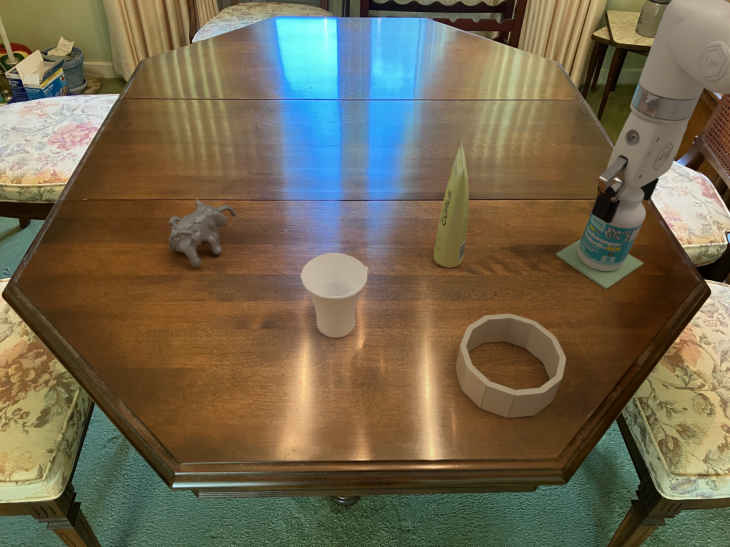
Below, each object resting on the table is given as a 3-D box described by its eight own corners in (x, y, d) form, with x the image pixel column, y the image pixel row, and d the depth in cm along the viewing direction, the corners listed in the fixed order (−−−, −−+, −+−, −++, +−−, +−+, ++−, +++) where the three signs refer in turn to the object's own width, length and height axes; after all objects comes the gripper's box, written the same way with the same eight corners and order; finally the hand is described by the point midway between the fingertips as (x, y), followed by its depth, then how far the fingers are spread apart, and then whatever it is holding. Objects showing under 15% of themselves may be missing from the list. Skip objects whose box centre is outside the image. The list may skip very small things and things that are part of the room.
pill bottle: (568, 258, 91) (592, 190, 81) (588, 238, 95) (614, 170, 85) (611, 280, 87) (641, 211, 78) (630, 258, 91) (662, 190, 82)
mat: (642, 264, 91) (643, 262, 90) (605, 289, 86) (606, 287, 86) (592, 233, 96) (592, 231, 96) (555, 255, 92) (555, 253, 92)
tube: (424, 254, 92) (436, 151, 78) (446, 243, 94) (461, 140, 80) (447, 273, 88) (464, 168, 75) (470, 260, 91) (490, 157, 77)
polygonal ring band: (575, 383, 73) (586, 360, 70) (508, 435, 67) (516, 413, 64) (502, 324, 80) (509, 300, 77) (436, 366, 75) (440, 342, 71)
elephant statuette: (161, 260, 90) (149, 223, 84) (203, 219, 98) (195, 182, 92) (209, 275, 87) (200, 238, 82) (249, 232, 95) (243, 195, 90)
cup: (374, 340, 78) (376, 290, 71) (309, 350, 76) (305, 300, 70) (361, 296, 84) (362, 246, 77) (301, 305, 83) (296, 255, 76)
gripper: (652, 131, 66) (607, 241, 78) (725, 94, 74) (674, 199, 85) (599, 107, 70) (564, 214, 82) (674, 75, 78) (632, 177, 90)
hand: (620, 206), depth 84 cm, fingers open, 9 cm apart
